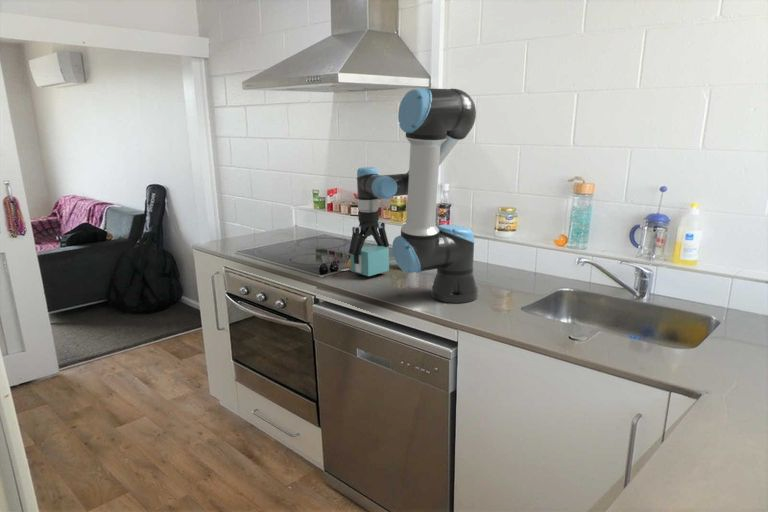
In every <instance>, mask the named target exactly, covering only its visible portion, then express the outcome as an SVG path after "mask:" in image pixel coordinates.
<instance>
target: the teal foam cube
mask: <svg viewBox="0 0 768 512" xmlns="http://www.w3.org/2000/svg"><path fill="white" fill-rule="evenodd" d="M359 255H361V262H362V273H359V272H356V269H355V263H354V255H353V254H350V256H349V257H350V258H349V259H350V261H351V271H350V272H353V273H355V274H356V273H357V274H359V275H363V276H365V277H372V276H375V275H377V274H382V273H386V272H389V271H390V248H389V247H383V246H379V245H377V244H376V243H375V244H374V243H367V244H366V243H365V244H363V247H362V249H361V252H360V254H359Z"/></svg>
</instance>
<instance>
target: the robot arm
mask: <svg viewBox="0 0 768 512" xmlns="http://www.w3.org/2000/svg"><path fill="white" fill-rule="evenodd" d="M398 107H399V108H398V112H397V117H398V118H397V120H398V123H399V127H400V129H401V131H403V132H404V133H405V139H406V140H407V141H408V142H409V144H410V149H409V162H408V163H409V166H408V168H409V169H408V171H407V172H406V173H397V174H383V175H381V174H379V170H378V168H377V167H373V166H366V167H365V166H364V167H359V168H358V169H357V171H356V185H357V187H356V188H357V209H358V210H359V211H358V213H357V216H358V218H357V219H358V222H359V225H358V226H353V227H352V228H351V229H352V235H351V240H350V243H349V250H348V253H349V254H353V255H354V263H355V269H356V272H359V273H362V262H361V255H359V254H360V252H361V249H362V247H363V245H365V241H366V240H367V238H368V237H371V236H372V237H373V239H374V241H375V244H376V245H379V246H383V247H387V248H389V246H390V243H389V240H388V236H387V232H386V223H385V222H382V221H379V219H380V214H379V213H380V212H379V208H380V207H379V205H380V203H379V199H382V200H389V199H392V198H393V197H401V196H407V201H406V223H405V224H403V225H401V228H400V235H398V236H396V237H395V238H394V239H393V241H392V245H391V246H392V253H393V257H394V261H395V263H396V264H397V266H398V267H399V269H400V270H401V271H403V272H404V273H406V274H413V273H417V274H419V273H420V272H426V271H433V270H436V274H435V277H434V278H435V279H434V280H433V284H432V287H431V297H432V298H433V299H435V300H437V301H439V302H443V303H448V304H449V303H450V304H451V303H452V304H462V303H469V302H473V301H474V300H477V299H478V297H479V289H478V286H477V282H476V279H475V275H474V253H475V252H474V249H475V233H474V231H473V230H472V229H471V228H469V227H465V226H460V225H456V224H439V225H438V226H437V225H435V224H436V211H437V197H438V196H437V195H438V186H439V185H438V183H439V168H440V165H441V164H442V163H443V162H444V160H445V159H447V156H448V155H449V154H450V153H451V151H452V150H453V148H454V147H455V146H456V145H457V143H458V142H459V141H461V140H462V141H463V140H465V139H466V137H467V135H469V133H470V132H471V130H472V129H473V127H474V125H475V122H476V117H477V110H476V104H475V103H474V100H473V99H472V97H471V96H470V95H469V94H468V93H467V92H466V91H464V90H462V89H458V88H427V87H421V88H413V89H410V90H408V91H407V92H406V93H405V94H404V96H403V97H402V99H401V101H400V104H399V106H398ZM356 272H355V273H356ZM359 273H358V274H359Z"/></svg>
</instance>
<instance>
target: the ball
mask: <svg viewBox="0 0 768 512" xmlns="http://www.w3.org/2000/svg"><path fill="white" fill-rule="evenodd" d="M346 263H347V266H348V268H349V269H351V261H350V258H349V259H347V262H346Z"/></svg>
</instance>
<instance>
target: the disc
mask: <svg viewBox="0 0 768 512" xmlns="http://www.w3.org/2000/svg"><path fill="white" fill-rule="evenodd" d="M337 264H338V265H339V266H340V267H341V268H347V267H348V266H347V262H340V263H337ZM347 272H352V271H351V270H348V271H347Z"/></svg>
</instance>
